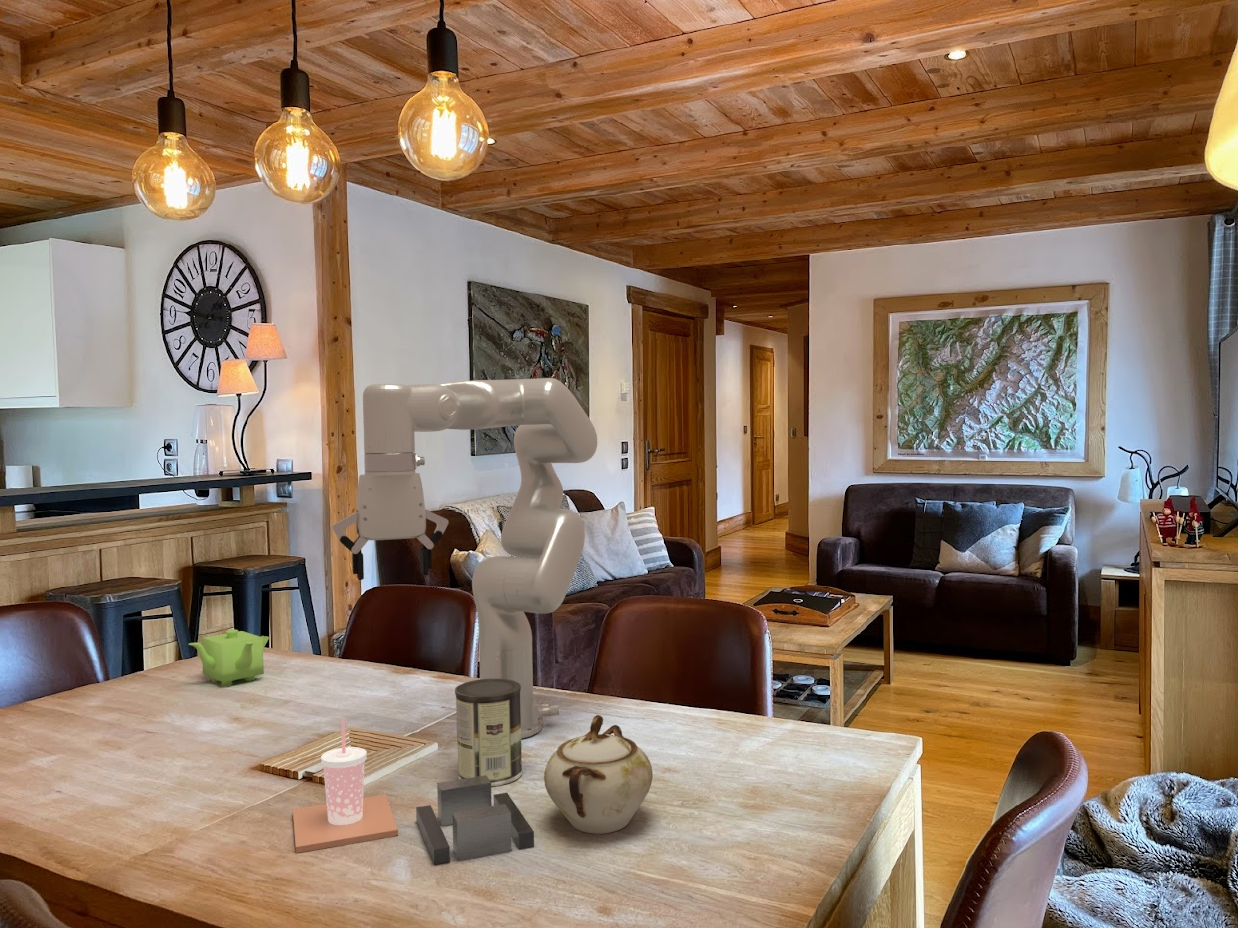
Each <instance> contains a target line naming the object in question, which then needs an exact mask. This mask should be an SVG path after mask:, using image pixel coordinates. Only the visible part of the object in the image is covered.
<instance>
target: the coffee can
mask: <svg viewBox="0 0 1238 928" xmlns="http://www.w3.org/2000/svg"><path fill="white" fill-rule="evenodd" d="M520 690H521V685H520V684H519V683H518V682H516V681H513V680H508V679H480V678H479V679H475V680H474V679H473V680H471V681H467V682H464V683H461V684H459V685H457V686H456V687H455V689H454V693H455V702H456V703H455V707H456V711H455V712H456V714H455V715H456V733H457V734H456V737H457V740H456V742H457V746H456V747H457V773H458V774H457V780H459V779H465V778H472V777H478V776H485V775H486V776H487V777H488V779H489V780H490V782H491V787H499V786H503V785H507V784H510V783H513V782H515V781H517V780H518V779H519V778H521V777H520V776H522V775H523V773H524V772H523V760H522V758H523V756H522V755H523V754H522V752H523V751H522V739H521V712H520V711H521V710H520Z"/></svg>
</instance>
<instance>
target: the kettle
mask: <svg viewBox="0 0 1238 928" xmlns="http://www.w3.org/2000/svg"><path fill="white" fill-rule="evenodd" d="M269 640H270V636H266V635H265V636H264V635H261V636H259V635H257V634H253V633H250V632H246V631H242V630H240V631H239V630H238V629H228V630H226V631H225V633H223V634H222V633H221V634H216V635H211V636H205V637H203V636H202V638H201V642H190V643H188V644H187V645H189V646H192V647H194V648H195V650H197V653H198V655H199V658H200V660H201V663H202V674H203V675H204V676H207V677H209V678H211V679H210V682H211V681H218V682H221V684H220V687H230V686H232V685H233V681H236V680H241V679H244V680H245V682H253V681H252V680H254V681H256V680H257V678H256V677H255V676H260V675H264V674H265V673H264V671H265V670H264V667H265V666H264V648H265V646H266V644H267V643H268V641H269ZM255 679H256V680H255Z"/></svg>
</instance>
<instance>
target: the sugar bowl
mask: <svg viewBox="0 0 1238 928" xmlns="http://www.w3.org/2000/svg"><path fill="white" fill-rule="evenodd" d="M603 725H604V717H603V716H602V715H600V714H596V715H595V716H593V718H592V721H591V724H590V729H589V731H588V732H587V733H586V734H584V735H581V736H577V737H574V738H571V739H569V740H568V739H567V741H564V742H563V743H561V744H560V745H559V746H558V748H557V750H556V751H555V752H553V753H552V755H551V757H550V758H549V759H548V762H547V763H546V766H545V769H544V776H543V781H544V786H545V787H544V788H545V789H546V792H547V794H548V796H549V798H550V799H551V801H552V802H553V803H554V805H555V806H556V807H557V809H558V810H559V811H560V812H561V813H562V815H564V817H565V818H566V819H567V821H568V822H569V823H570V825H571V827H573V828H574V829H576V830H577V831H580V832H584V833H587V834H597V835H598V834H600V835H603V834H610V833H614V832H617V831H619V830H622V829H624V828H625V827H626V826H627V825H628V824H629V823H630V822H631V820H632V818H633V817H634V815H635V814H636V812H637V811H638V810H639V808H640V807H641V806H642V804H643V802H644V801H645V799H646V797H647V795H648V794H649V791H650V789H651V786H652V783H653V778H654V777H653V767H652V763H651V761H650V758H649V757H648V755H647V754H646V753H645V752H644V751H643V749H641V748H640V747H639V746H637V744H636V743H635V742H634V741H633V740H632V739H630V738H628V737H625V736H624V735H623V732H622V729H621V727H620V726H619V725H617V724H614V725H611V726H609V728H608V729H606V730H605V731H604V732H603V733H600V732H601V729H602V726H603ZM613 734H614V735H613Z"/></svg>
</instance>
